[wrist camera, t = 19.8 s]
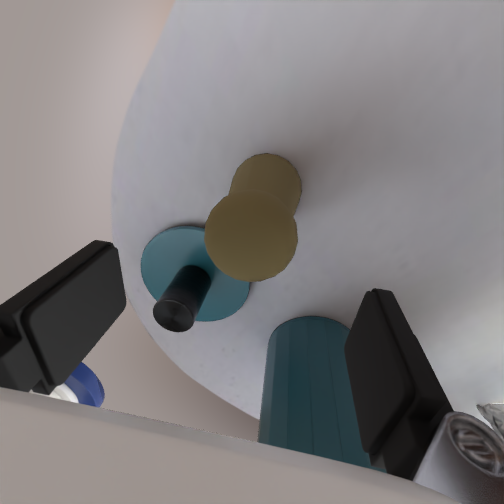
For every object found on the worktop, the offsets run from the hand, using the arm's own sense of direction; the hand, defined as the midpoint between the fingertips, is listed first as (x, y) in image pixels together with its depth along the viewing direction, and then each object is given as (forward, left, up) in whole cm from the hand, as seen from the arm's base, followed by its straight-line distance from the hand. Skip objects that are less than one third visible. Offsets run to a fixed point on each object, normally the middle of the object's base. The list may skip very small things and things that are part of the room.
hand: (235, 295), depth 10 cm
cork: (0, 0, -15) cm, 15 cm away
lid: (-6, -10, -14) cm, 18 cm away
